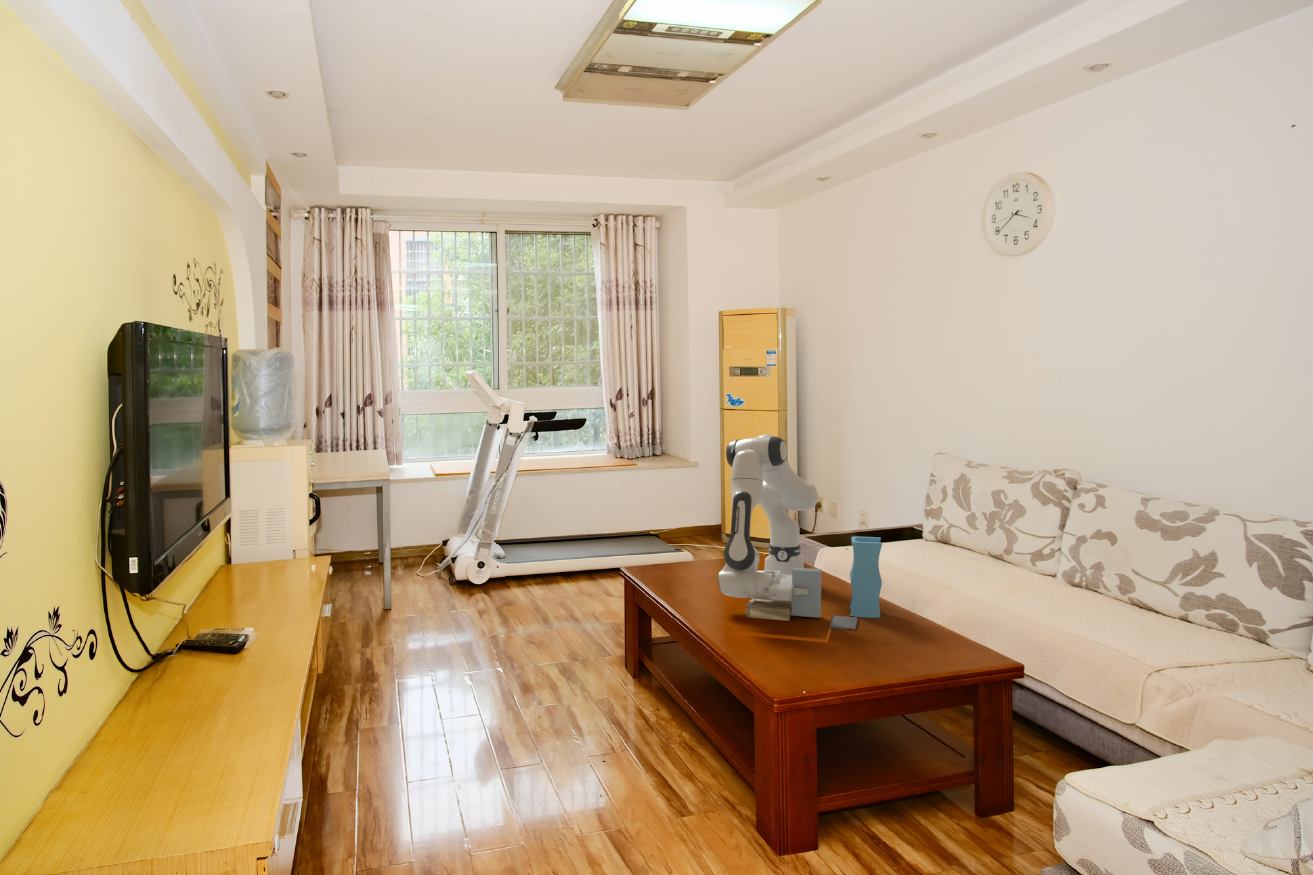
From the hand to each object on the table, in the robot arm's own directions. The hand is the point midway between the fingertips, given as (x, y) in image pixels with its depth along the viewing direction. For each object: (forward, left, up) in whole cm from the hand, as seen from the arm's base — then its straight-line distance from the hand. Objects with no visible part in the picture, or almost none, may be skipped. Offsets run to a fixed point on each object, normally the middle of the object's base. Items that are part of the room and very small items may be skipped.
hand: (809, 589), depth 273 cm
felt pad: (0, +9, -10) cm, 14 cm away
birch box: (0, -13, -10) cm, 16 cm away
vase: (-14, +17, -11) cm, 25 cm away
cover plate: (0, -1, -8) cm, 9 cm away
